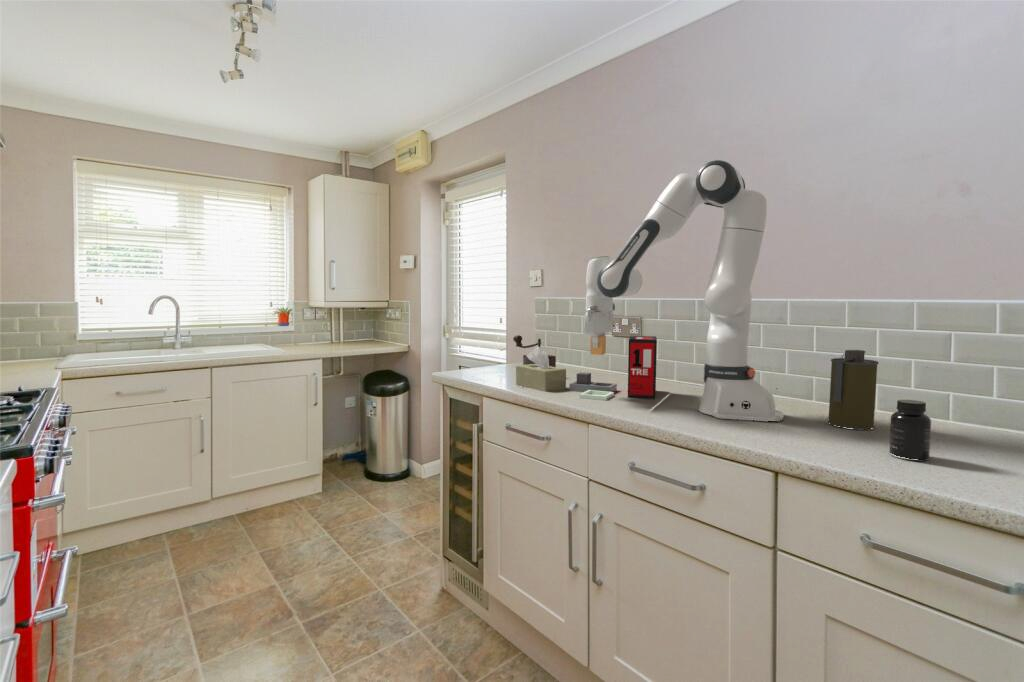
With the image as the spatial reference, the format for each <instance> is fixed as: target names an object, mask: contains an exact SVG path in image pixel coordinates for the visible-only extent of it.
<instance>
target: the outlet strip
mask: <svg viewBox="0 0 1024 682" xmlns="http://www.w3.org/2000/svg"><path fill="white" fill-rule="evenodd" d="M617 388H618V384H617V383H611V382H600V381H591V384H590V385H584V384H577V380H575V381H572V382H571V383H569V387H568V389H569V391H572V392H581V393H583V392H585V391H587V390H596V391H607V392H614V393H615V392H616V391H617V390H618V389H617Z"/></svg>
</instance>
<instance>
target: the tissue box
mask: <svg viewBox="0 0 1024 682" xmlns="http://www.w3.org/2000/svg"><path fill="white" fill-rule="evenodd" d="M525 355H526V356H527V357H528V359H529V360H531V361H532V362H534V363H535V364H528V365H523V364H518V365H516V366H515V372H516V373H515V386H516V385H518V386H522V387H526V388H525V389H533V390H537V391H540V392H545V393H546V392H552V391H559V390H566V389H567V369H566V368H562V367H558V366H556V367H552V366H549V359H548V355H549V354H548V353H547V351H546V350H542V349H541V346H540V347H538V346H537V347H535V348H534V349H533V351H532V350H531V351H530V352H529V353H528V354H525ZM518 386H517V387H518ZM522 387H521V388H522Z"/></svg>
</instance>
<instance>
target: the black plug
mask: <svg viewBox="0 0 1024 682" xmlns="http://www.w3.org/2000/svg"><path fill="white" fill-rule="evenodd" d="M576 381H577V384H584V385H590V384H591V382H592V373H591V372H582V371H581V372H577V373H576Z"/></svg>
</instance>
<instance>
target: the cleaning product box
mask: <svg viewBox="0 0 1024 682" xmlns="http://www.w3.org/2000/svg"><path fill="white" fill-rule="evenodd" d="M657 342H658V340H657V336H656V335H655V336H653V335H652V336H651V335H646V336H645V335H630V337H629V338H628V357H627V358H628V359H627V360H628V362H627V363H628V364H627V365H628V367H627V374H628V375H627V398H628V399H629V398H630V399H648V400H650V399H651V400H656V391H657V385H656V384H657V353H658V352H657V351H658V349H657V347H658V345H657V344H658V343H657Z"/></svg>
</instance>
